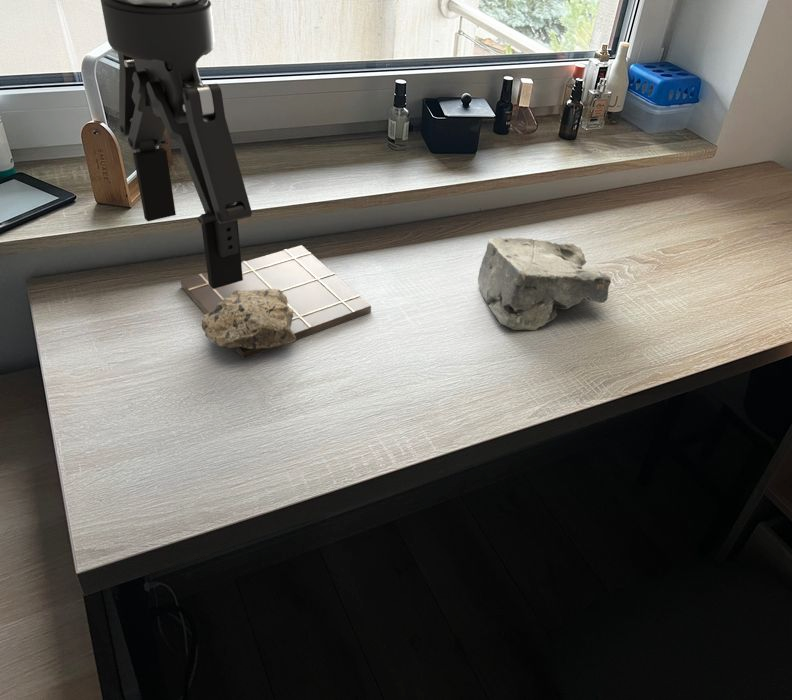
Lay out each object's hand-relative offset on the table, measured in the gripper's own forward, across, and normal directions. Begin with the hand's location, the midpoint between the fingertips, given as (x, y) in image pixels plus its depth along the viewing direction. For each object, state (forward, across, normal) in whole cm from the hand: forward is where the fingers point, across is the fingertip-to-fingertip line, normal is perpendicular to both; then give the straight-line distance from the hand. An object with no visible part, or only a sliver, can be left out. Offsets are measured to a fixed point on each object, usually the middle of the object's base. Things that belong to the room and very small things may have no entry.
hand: (191, 248), depth 65 cm
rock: (+26, +17, -13) cm, 33 cm away
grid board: (+26, +24, -20) cm, 41 cm away
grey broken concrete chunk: (+26, +2, -54) cm, 60 cm away
